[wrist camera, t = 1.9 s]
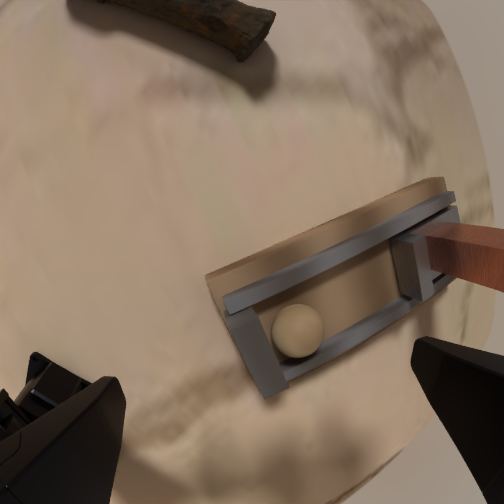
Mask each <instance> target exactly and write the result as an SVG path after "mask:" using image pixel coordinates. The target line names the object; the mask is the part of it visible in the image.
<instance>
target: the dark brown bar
mask: <svg viewBox="0 0 504 504" xmlns="http://www.w3.org/2000/svg"><path fill="white" fill-rule="evenodd" d="M93 1H95V2H98V3H104V2H106V1H112V2H116V3H119V4H121V5H125V6H128V7H130V8H133V9H136V10H137V11H140V12H142V13H146V14H150V15H154V16H156V17H159V18H161V19H164V20H166V21H169V22H171V23H173V24H175V25H177V26H180V27H182V28H184V29H186V30H187V31H191V32H195V33H197V34H199V35H202V36H204V37H206V38H208V39H211V40H213V41H215V42H217V43H220V44H222V45H224V46H225V47H227V48H229V49H230V50H231V51H232V52H234V54H235V55H236V57H237V60H238V62H243V61H244V60H246V59H247V58H248V57H249V56H250V55H251V54H252V53H253V51H254V50H255V49H256V48H257V47H258V46H259V45H260V44H261V42H262V41H263V40H264V39H265V38H266V36H267V35H268V34H269V30H270V28H271V26H272V24H273V22H274V19H275V16H276V13H275V12H274V11H271V10H267V9H262V8H256V7H252V6H248V5H246V4H244V3H241V2H240V1H237V0H93Z"/></svg>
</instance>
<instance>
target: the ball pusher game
mask: <svg viewBox="0 0 504 504" xmlns="http://www.w3.org/2000/svg"><path fill="white" fill-rule="evenodd" d="M455 201H456V199H455V194H454V191H447V188H446V184H445V180H444V177H430V178H426V179H424V180H421V181H419V182H417V183H415V184H412V185H410V186H408V187H405V188H403V189H401V190H399V191H396V192H394V193H392V194H390V195H387V196H385V197H383V198H381V199H378V200H376V201H374V202H371V203H369V204H367V205H365V206H362V207H360V208H358V209H356V210H353V211H351V212H349V213H346V214H344V215H342V216H340V217H337V218H335V219H333V220H331V221H328V222H326V223H324V224H321V225H319V226H317V227H315V228H312V229H310V230H308V231H305V232H303V233H301V234H299V235H296V236H294V237H292V238H289V239H287V240H285V241H283V242H280V243H278V244H276V245H273V246H271V247H269V248H267V249H264V250H262V251H260V252H257V253H255V254H253V255H251V256H248V257H246V258H244V259H241V260H239V261H237V262H235V263H232V264H230V265H228V266H225V267H223V268H221V269H219V270H216V271H214V272H212V273H209V274H207V275H205V278H206V282H207V285H208V287H209V289H210V292H211V294H212V296H213V298H214V300H215V302H216V304H217V307H218V309H219V311H220V313H221V315H222V317H223V319H224V321H225V323H226V326H227V328H228V330H229V332H230V334H231V336H232V338H233V340H234V342H235V344H236V346H237V348H238V350H239V352H240V354H241V356H242V358H243V360H244V362H245V364H246V366H247V368H248V370H249V372H250V374H251V376H252V378H253V380H254V382H255V384H256V386H257V387H258V389H259V391H260V393H261V395H263V397H264V399H265V398H267V397H270V396H272V395H274V394H276V393H278V392H281V391H283V390H285V389H287V388H289V386H288V382H290V381H292V380H294V379H296V378H298V377H300V376H302V375H304V374H306V373H308V372H310V371H312V370H314V369H316V368H318V367H320V366H322V365H324V364H326V363H328V362H329V361H331V360H333V359H335V358H337V357H339V356H340V355H342V354H344V353H346V352H347V351H349V350H351V349H353V348H354V347H356V346H358V345H360V344H361V343H363V342H365V341H366V340H368V339H370V338H371V337H373V336H374V335H376V334H378V333H379V332H381V331H382V330H384V329H386V328H387V327H389V326H390V325H392V324H393V323H395V322H396V321H398V320H399V319H401V318H402V317H404V316H405V315H407V314H408V313H410V312H411V311H413V310H414V309H416V308H417V307H419V306H420V305H421V304H423V303H424V302H426V301H427V300H428V299H427V300H426V301H424V302H420V301H418V300H416V299H413V298H411V297H409V296H407V295H404V294H402V293H400V288H399V283H398V278H397V273H396V268H395V264H394V259H393V255H392V251H391V247H390V242H389V238H390V237H392V236H394V235H396V234H398V233H399V232H401V231H403V230H405V229H407V228H409V227H410V226H412V225H414V224H416V223H418V222H420V221H421V220H423V219H425V218H427V217H429V216H430V215H432V214H434V213H436V212H438V211H439V210H441V209H443V208H445V207H446V206H448V205H450V204H452V203H453V202H455ZM456 278H457V277H453V276H450V275H447V274H444V273H442V274H440V275H439V276H438V277H436V278H435V279H433V280H432V282H433V290H434V295H435V294H437V293H438V292H439V291H441V290H442V289H443V288H444V287H446V286H447V285H448V284H450V283H451V282H452V281H454V280H455V279H456ZM434 295H433V296H434ZM431 297H432V296H431ZM431 297H430V298H431ZM430 298H429V299H430ZM295 304H301V305H306V306H309V307H311V308H313V309H314V310H315V311H317V312H318V314H319V315H320V316H321V318H322V320H323V323H324V327H325V334H324V339H323V341H322V343H321V345H320V346H319V348H318V349H317V350H316V351H315V352H313V353H312V354H310V355H308V356H305V357H300V358H294V357H289V356H287V355H284V354H283V353H281V352H280V351H279V350H278V349H277V348H276V347H275V345H274V343H273V341H272V338H271V326H272V322H273V320H274V318H275V316H276V315H277V314H278V313H279V312H280V311H281V310H282V309H284V308H286V307H288V306H290V305H295Z"/></svg>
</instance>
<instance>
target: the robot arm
mask: <svg viewBox="0 0 504 504" xmlns="http://www.w3.org/2000/svg"><path fill="white" fill-rule="evenodd" d="M35 357H36V358H37V360H36V359H35ZM411 367H412V370H413V372H414V373H415V375H416V377H417V379H418V381H419V383H420V385H421V387H422V389H423V391H424V393H425V395H426V397H427V399H428V401H429V403H430V405H431V406H432V408H433V409H434V411H435V413H436V414H437V416H438V417H439V419H440V421H441V422H442V423H443V425H444V427H445V429H446V430H447V432H448V433H449V435H450V437H451V438H452V440H453V442H454V444H455V445H456V447H457V449H458V450H459V452H460V454H461V456H462V457H463V459H464V461H465V462H466V464H467V466H468V468H469V470H470V471H471V473H472V475H473V477H474V479H475V480H476V482H477V484H478V486H479V488H480V490H481V492H482V494H483V496H484V498H485V500H486V502H487V504H504V356H502V355H498V354H494V353H490V352H486V351H482V350H478V349H474V348H470V347H466V346H462V345H458V344H454V343H451V342H447V341H443V340H439V339H436V338H432V337H428V336H425V337H422V338H419V339H417V340H416V341H415V343H414V347H413V352H412V356H411ZM8 395H9V394H8V393H7V392H6V391H5V389H4V388H3V389H2V390H1V391H0V504H109V503H110V497H111V492H112V487H113V482H114V477H115V472H116V468H117V463H118V458H119V454H120V449H121V443H122V434H123V426H124V417H125V410H126V399H125V396H124V393H123V391H122V388H121V385H120V383H119V380H118V379H117V378H116V377H112V376H104V377H102V378H100V379H99V380H97V381H96V382H94V383H92V384H91V383H90V382H88V381H86V380H84V379H82V378H80V377H78V376H76V375H75V374H73V373H71V372H69V371H67V370H66V369H64V368H62V367H61V366H59V365H57V364H55V363H54V362H52V361H51V360H49V359H47V358H46V357H44V356H42V355H41V354H39V353H38V352H33V353H32V354H31V356H30V360H29V365H28V371H27V378H26V384H25V387H24V388H23V390H22V391H21V392H20V394H19V395H18V396H17V398H16V399H15V401H13V400H12V399H11V398H10V397H9V396H8Z"/></svg>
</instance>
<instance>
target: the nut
mask: <svg viewBox="0 0 504 504" xmlns="http://www.w3.org/2000/svg"><path fill="white" fill-rule="evenodd" d="M324 334H325V327H324V323H323V320H322V318H321V316H320V315H319V314H318V312H317V311H315V310H314V309H313V308H311V307H309V306H306V305H301V304H295V305H290V306H288V307H286V308H284V309H282V310H281V311H280V312H279V313H278V314H277V315H276V316H275V318H274V320H273V322H272V326H271V338H272V341H273V343H274V345H275V347H276V348H277V349H278V350H279V351H280V352H281V353H283V354H284V355H287V356H289V357H294V358H300V357H305V356H308V355H310V354H312V353H313V352H315V351H316V350H317V349H318V348H319V346H320V345H321V343H322V341H323V339H324Z"/></svg>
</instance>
